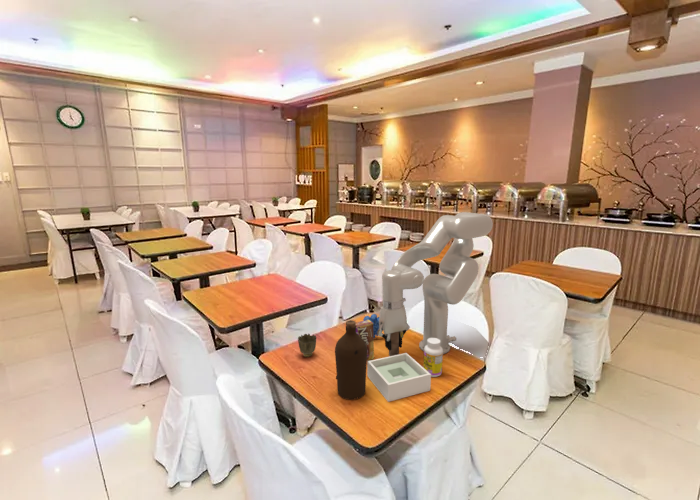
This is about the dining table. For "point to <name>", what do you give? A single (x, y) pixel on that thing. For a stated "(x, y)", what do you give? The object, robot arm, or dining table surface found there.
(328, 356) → the dining table surface
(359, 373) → the olive oil
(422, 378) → the box
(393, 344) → the peg
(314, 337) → the cup
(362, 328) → the candy box
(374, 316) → the grapes
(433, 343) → the supplement bottle
